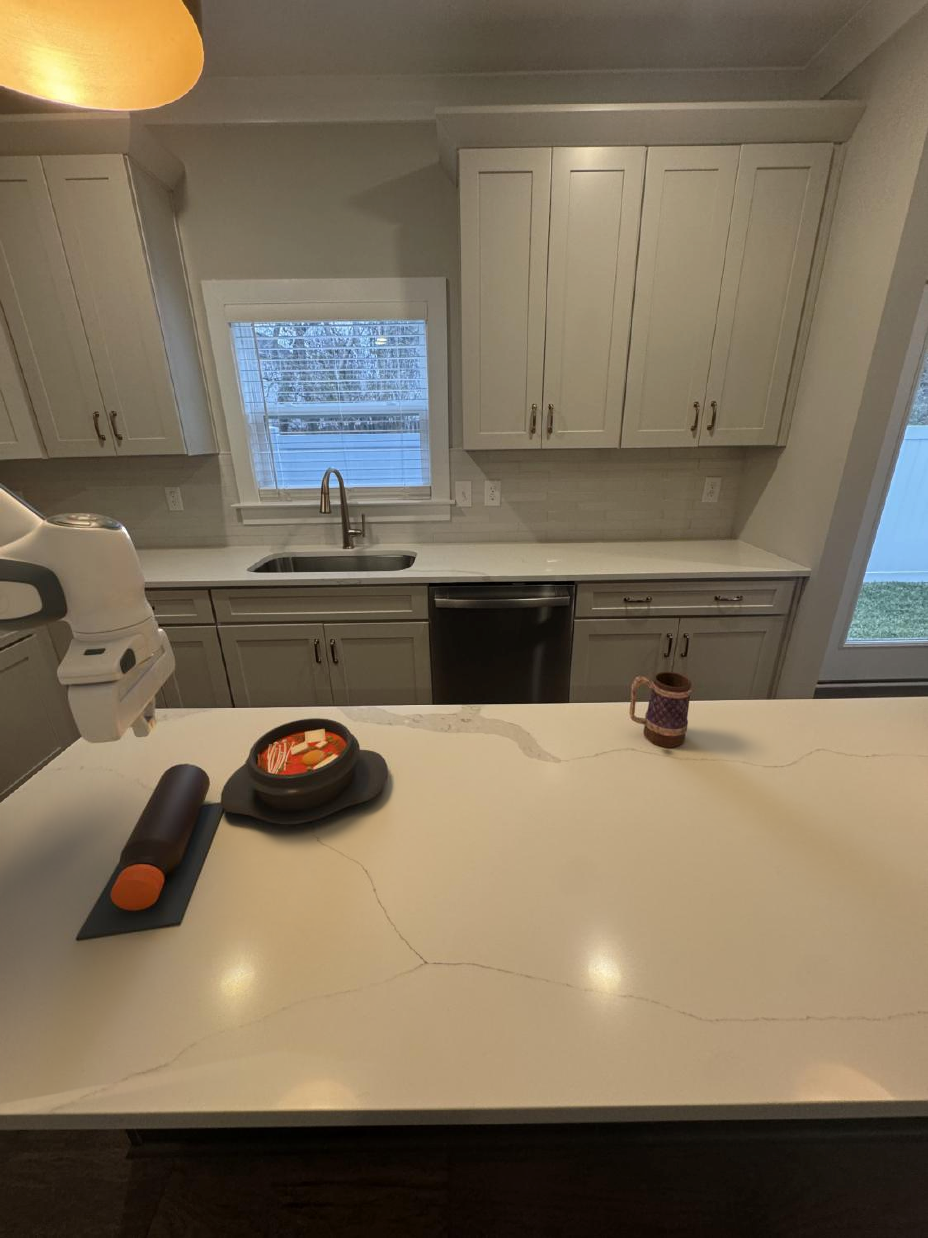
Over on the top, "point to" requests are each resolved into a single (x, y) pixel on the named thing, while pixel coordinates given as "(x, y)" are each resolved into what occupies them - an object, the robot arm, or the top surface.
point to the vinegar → (160, 836)
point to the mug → (664, 708)
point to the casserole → (304, 773)
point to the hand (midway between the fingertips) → (146, 731)
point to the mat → (172, 895)
